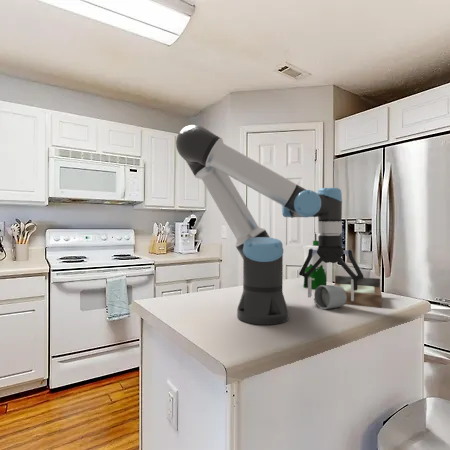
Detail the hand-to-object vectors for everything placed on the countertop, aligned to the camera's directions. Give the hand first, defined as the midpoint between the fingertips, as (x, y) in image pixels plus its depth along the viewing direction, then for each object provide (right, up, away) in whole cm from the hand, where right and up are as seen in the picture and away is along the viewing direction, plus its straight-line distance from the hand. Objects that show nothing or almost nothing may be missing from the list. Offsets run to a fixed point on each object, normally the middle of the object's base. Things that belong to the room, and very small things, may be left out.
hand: (330, 298), depth 107 cm
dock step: (+13, -3, +11) cm, 17 cm away
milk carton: (+3, -3, +31) cm, 31 cm away
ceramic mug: (-1, -3, +1) cm, 3 cm away
